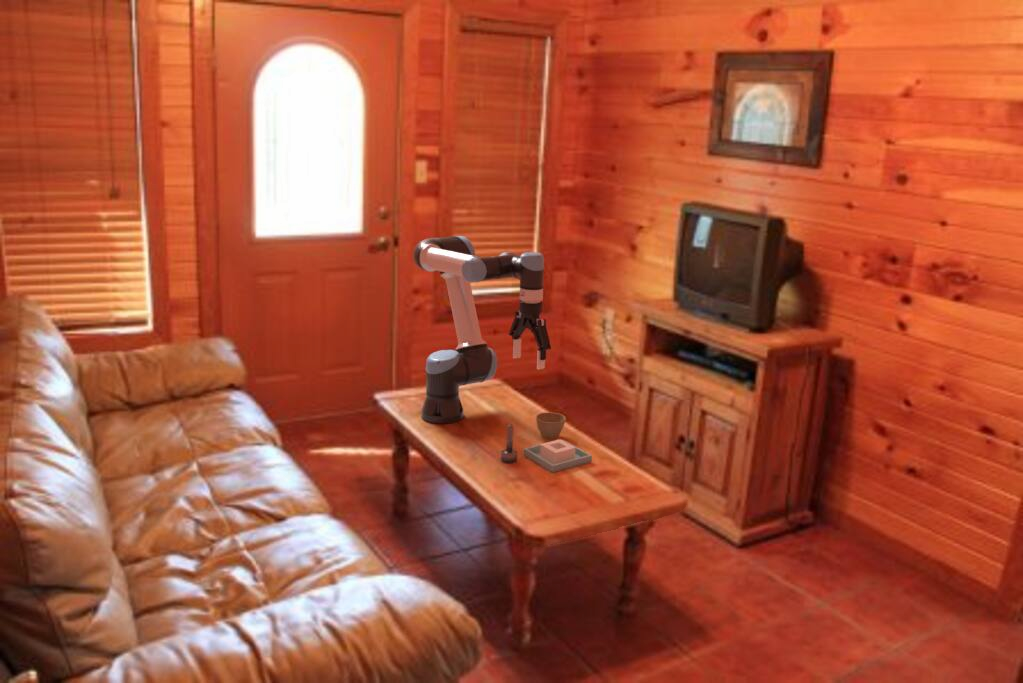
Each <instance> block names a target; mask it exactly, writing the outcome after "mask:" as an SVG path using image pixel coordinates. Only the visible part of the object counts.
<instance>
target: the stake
mask: <svg viewBox="0 0 1023 683" xmlns="http://www.w3.org/2000/svg"><path fill="white" fill-rule="evenodd" d="M505 444H506V447H505V448H503V449H502V450H501V452H500V454H501V456H500V457H501V458H500V459H501V460H500V461H501V463H504V464H515V463H517V462H518V450H517V449H515V448H513V446H514V424H512V423H508V424H506V443H505Z"/></svg>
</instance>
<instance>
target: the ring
mask: <svg viewBox="0 0 1023 683" xmlns="http://www.w3.org/2000/svg"><path fill="white" fill-rule="evenodd" d="M561 439H562V438H560V439H559V438H558V439H554V440H552V441H551V440H550V441H547V442H544V443H543V442H542V443H540V444H539V445H540V456H541V457H543V458H545V459H546V460H548V461H550V462H551V463H553V464H557V463H561V462H565V461H568V460H572V459H575V447H573V446H572V445H573V444H572V445H570V444H571V443H570V444H568V443H569V442H568V443H566V442H564V441H562V440H561Z"/></svg>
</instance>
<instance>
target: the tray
mask: <svg viewBox="0 0 1023 683" xmlns="http://www.w3.org/2000/svg"><path fill="white" fill-rule="evenodd" d="M560 439H561V440H562V441H564V442H566V443H568V444H570V445H572V446H573V447H575V459H572V460H568V461H565V462H561V463H557V464H553V463H551V462H550V461H548V460H546V459H545V458H543V457H541V456H540V444H536V445H531V446H528V447H525V448H523V457H526V458H527V459H529V460H531V461H532V462H534V463H535V464H536V465H538V466H540V467H542V469H543V468H544V469H545V470H547V471H548V472H550V473H552V474H554V473H559V472H561V471H565V470H569V469H573V468H576V467H580V466H584V465H587V464H591V462H593V455H592V454H590V453H588V452H587V451H585V450H583V449H581V448H579V447H578V446H576V445H574V444H572V443H570V442H569V441H566V440H565V439H562V438H560Z"/></svg>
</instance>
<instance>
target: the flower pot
mask: <svg viewBox="0 0 1023 683" xmlns="http://www.w3.org/2000/svg"><path fill="white" fill-rule="evenodd" d="M566 419H567V418H566V416H565V415H563V414H561V413H558V412H552V411H551V412H550V411H549V412H541V413H538V414H537V415H536V416H535V421H536V427H537V428H538V431H539V433H540V435H541V437H542V438H543V439H544V440H549V441H551V440H552V441H554V440H557V439H558V437H559V436H560V434H561V433H562V431H563V430H564V426H565V422H566Z"/></svg>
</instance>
